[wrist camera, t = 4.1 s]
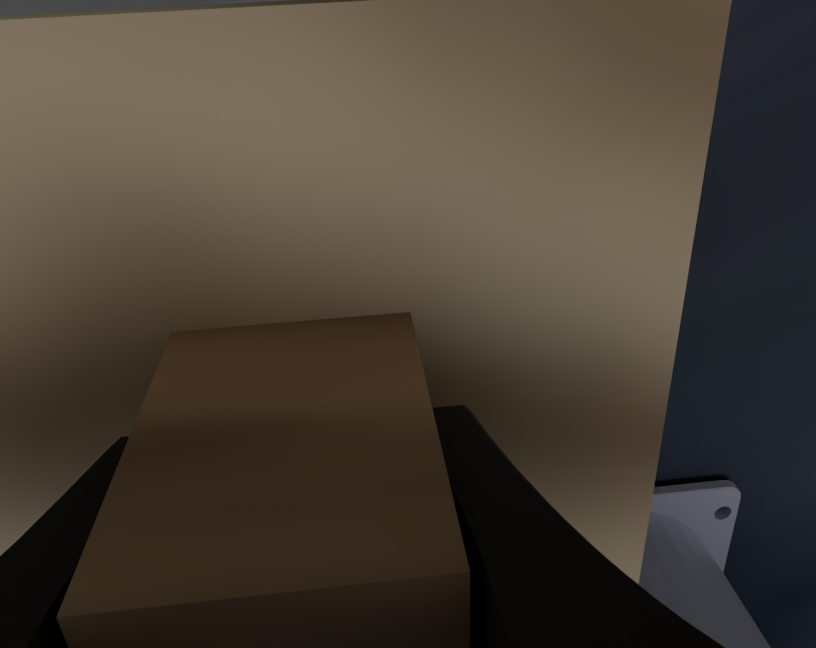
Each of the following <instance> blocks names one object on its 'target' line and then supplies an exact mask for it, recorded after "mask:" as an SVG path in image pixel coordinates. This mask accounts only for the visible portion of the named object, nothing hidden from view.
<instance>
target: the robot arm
mask: <svg viewBox="0 0 816 648" xmlns="http://www.w3.org/2000/svg"><path fill="white" fill-rule="evenodd" d="M432 409H433V413H434V417H435V422H436V426H437V430H438V435H439V439H440V443H441V448H442V452H443V456H444V461H445V465H446V469H447V474H448V478H449V482H450V487H451V491H452V496H453V500H454V504H455V509H456V513H457V517H458V522H459V526H460V530H461V535H462V539H463V543H464V548H465V552H466V556H467V561H468V565H469V569H470V648H771V647H770V646H769V644H768V643H767V641H766V640H765V638H764V636H763V635H762V633H761V632H760V630H759V629H758V627H757V625H756V624H755V622H754V621H753V619H752V618H751V616H750V614H749V613H748V611H747V610H746V608H745V607H744V605H743V604H742V602H741V600H740V599H739V597H738V596H737V594H736V593H735V591H734V589H733V588H732V586H731V585H730V583H729V582H728V580H727V578H726V577H725V575H724V574H723V571H724V567H725V563H726V559H727V554H728V550H729V546H730V541H731V537H732V533H733V529H734V524H735V520H736V516H737V512H738V507H739V503H740V499H741V493H740V491H739V490H738V488H737V487H736V486H735V484H734V483H733V482H731V481H729V480H718V481H708V482H699V483H689V484H680V485H671V486H661V487H654V491H653V497H652V503H651V509H650V516H649V522H648V528H647V535H646V541H645V547H644V553H643V560H642V566H641V572H640V578H639V584H637V583H636V582H635V581H634V580H632V579H631V578H630V577H629V576H627V575H626V574H625V573H624V572H623V571H621V570H620V569H619V568H618V567H617V566H616V565H614V564H613V563H612V562H611V561H610V560H609V559H607V558H606V557H605V556H604V555H603V554H602V553H601V552H600V551H598V550H597V549H596V548H595V547H594V546H593V545H592V544H591V543H590V542H589V541H588V540H586V539H585V538H584V537H583V536H582V535H581V534H580V533H579V532H578V531H577V530H576V529H575V528H574V527H573V526H572V525H571V524H570V523H569V522H567V521H566V520H565V519H564V518H563V517H562V516H561V515H560V514H559V513H558V512H557V511H556V510H555V509H554V508H553V507H552V506H551V505H550V504H549V503H548V501H547V500H546V499H545V498H544V497H543V496H542V495H541V494H540V493H539V492H538V491H537V490H536V489H535V488H534V486H533V485H532V484H531V483H530V482H529V481H528V480H527V479H526V478H525V477H524V476H523V475H522V474H521V472H520V471H519V470H518V469H517V468H516V467H515V466H514V464H513V463H512V462H511V461H510V460H509V459H508V457H507V456H506V455H505V454H504V453H503V452H502V450H501V449H500V448H499V447H498V446H497V444H496V443H495V442H494V441H493V439H492V438H491V437H490V436H489V434H488V433H487V432H486V430H485V429H484V428H483V427H482V425H481V424H480V423H479V421H478V420H477V419H476V417H475V416H474V414H473V413H472V412H471V411H470V410H469V409H468V408H467V407H466V406H465V405H455V406H444V407H434V408H432ZM128 438H129V436H125V437H120V438H119V439H118V440H117V441H116V442H115V443H114V444H113V445H112V446H111V447H110V448H109V449H108V450H107V451H106V452H105V453H104V454H103V455H102V456H101V457H100V458H99V459H98V460H97V461H96V462H95V463H94V464H93V465H92V466H91V467H90V468H89V469H88V470H87V471H86V472H85V473H84V474H83V475H82V476H81V477H80V478H79V479H78V480H77V481H76V482H75V483H74V484H73V485H72V486H71V487H70V488H69V489H68V490H67V491H66V492H65V493H64V495H63V496H62V497H61V498H60V499H59V500H57V501H56V502H55V503H54V504H53V505H52V506H51V507H50V508H49V509H48V510H47V511H46V512H45V513H44V514H43V515H42V516H41V517H40V518H39V519H38V520H37V521H36V522H35V523H34V524H33V525H32V526H31V527H30V528H29V529H28V530H27V531H26V532H25V533H24V534H23V535H22V536H21V537H20V538H19V539H18V540H17V541H16V542H15V543H14V544H13V545H12V546H11V547H10V548H8V549H7V550H6V551H5V552H4V553H3V554H2V555H1V556H0V648H68V645H67V643H66V640H65V638H64V635H63V633H62V631H61V628H60V626H59V623H58V621H57V618H56V617H57V615H58V612H59V610H60V607H61V605H62V602H63V600H64V597H65V595H66V592H67V590H68V587H69V585H70V582H71V580H72V577H73V575H74V572H75V570H76V567H77V565H78V562H79V560H80V557H81V555H82V553H83V550H84V548H85V545H86V543H87V540H88V538H89V535H90V533H91V530H92V528H93V525H94V523H95V520H96V518H97V515H98V513H99V510H100V508H101V505H102V503H103V500H104V498H105V495H106V493H107V491H108V488H109V486H110V483H111V481H112V478H113V476H114V473H115V471H116V468H117V466H118V463H119V461H120V458H121V456H122V453H123V451H124V448H125V446H126V443H127V441H128ZM721 507H722V508H721ZM719 508H721V509H719ZM718 509H719V510H718Z"/></svg>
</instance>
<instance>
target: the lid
mask: <svg viewBox="0 0 816 648" xmlns="http://www.w3.org/2000/svg"><path fill="white" fill-rule="evenodd" d="M731 1H732V0H290V1H271V2H252V3H233V4H214V5H195V6H176V7H157V8H138V9H119V10H100V11H81V12H62V13H43V14H23V15H4V16H0V556H1V555H2V554H3V553H4V552H5V551H6V550H7V549H8V548H10V547H11V546H12V545H13V544H14V543H15V542H16V541H17V540H18V539H19V538H20V537H21V536H22V535H23V534H24V533H25V532H26V531H27V530H28V529H29V528H30V527H31V526H32V525H33V524H34V523H35V522H36V521H37V520H38V519H39V518H40V517H41V516H42V515H43V514H44V513H45V512H46V511H47V510H48V509H49V508H50V507H51V506H52V505H53V504H54V503H55V502H56V501H57V500H59V499H60V498H61V497H62V496H63V495H64V493H65V492H66V491H67V490H68V489H69V488H70V487H71V486H72V485H73V484H74V483H75V482H76V481H77V480H78V479H79V478H80V477H81V476H82V475H83V474H84V473H85V472H86V471H87V470H88V469H89V468H90V467H91V466H92V465H93V464H94V463H95V462H96V461H97V460H98V459H99V458H100V457H101V456H102V455H103V454H104V453H105V452H106V451H107V450H108V449H109V448H110V447H111V446H112V445H113V444H114V443H115V442H116V441H117V440H118V439H119V438H120V437H125V436H129V438H128V441H127V443H126V446H125V448H124V451H123V453H122V456H121V458H120V461H119V463H118V466H117V468H116V471H115V473H114V476H113V478H112V481H111V483H110V486H109V488H108V491H107V493H106V495H105V498H104V500H103V503H102V505H101V508H100V510H99V513H98V515H97V518H96V520H95V523H94V525H93V528H92V530H91V533H90V535H89V538H88V540H87V543H86V545H85V548H84V550H83V553H82V555H81V557H80V560H79V562H78V565H77V567H76V570H75V572H74V575H73V577H72V580H71V582H70V585H69V587H68V590H67V592H66V595H65V597H64V600H63V602H62V605H61V607H60V610H59V612H58V615H57V617H56V618H57V621H58V623H59V626H60V628H61V631H62V633H63V635H64V638H65V640H66V643H67V645H68V648H470V569H469V565H468V561H467V556H466V552H465V548H464V543H463V539H462V535H461V530H460V526H459V522H458V517H457V513H456V509H455V504H454V500H453V496H452V491H451V487H450V482H449V478H448V474H447V469H446V465H445V461H444V456H443V452H442V448H441V443H440V439H439V435H438V430H437V426H436V422H435V417H434V413H433V409H432V408H434V407H444V406H455V405H465V406H466V407H467V408H468V409H469V410H470V411H471V412H472V413H473V414H474V416H475V417H476V419H477V420H478V421H479V423H480V424H481V425H482V427H483V428H484V429H485V430H486V432H487V433H488V434H489V436H490V437H491V438H492V439H493V441H494V442H495V443H496V444H497V446H498V447H499V448H500V449H501V450H502V452H503V453H504V454H505V455H506V456H507V457H508V459H509V460H510V461H511V462H512V463H513V464H514V466H515V467H516V468H517V469H518V470H519V471H520V472H521V474H522V475H523V476H524V477H525V478H526V479H527V480H528V481H529V482H530V483H531V484H532V485H533V486H534V488H535V489H536V490H537V491H538V492H539V493H540V494H541V495H542V496H543V497H544V498H545V499H546V500H547V501H548V503H549V504H550V505H551V506H552V507H553V508H554V509H555V510H556V511H557V512H558V513H559V514H560V515H561V516H562V517H563V518H564V519H565V520H566V521H567V522H569V523H570V524H571V525H572V526H573V527H574V528H575V529H576V530H577V531H578V532H579V533H580V534H581V535H582V536H583V537H584V538H585V539H586V540H588V541H589V542H590V543H591V544H592V545H593V546H594V547H595V548H596V549H597V550H598V551H600V552H601V553H602V554H603V555H604V556H605V557H606V558H607V559H609V560H610V561H611V562H612V563H613V564H614V565H616V566H617V567H618V568H619V569H620V570H621V571H623V572H624V573H625V574H626V575H627V576H629V577H630V578H631V579H632V580H634V581H635V582H636V583H637V584H639V578H640V572H641V566H642V560H643V553H644V547H645V541H646V535H647V528H648V522H649V516H650V509H651V503H652V497H653V491H654V484H655V478H656V472H657V466H658V459H659V453H660V447H661V440H662V434H663V428H664V422H665V415H666V409H667V403H668V397H669V390H670V384H671V378H672V371H673V365H674V359H675V353H676V346H677V340H678V334H679V328H680V321H681V315H682V309H683V302H684V296H685V290H686V284H687V277H688V271H689V265H690V258H691V252H692V246H693V240H694V233H695V227H696V221H697V215H698V208H699V202H700V196H701V189H702V183H703V177H704V171H705V164H706V158H707V152H708V146H709V139H710V133H711V127H712V120H713V114H714V108H715V102H716V95H717V89H718V83H719V77H720V70H721V64H722V58H723V51H724V45H725V39H726V33H727V26H728V20H729V14H730V8H731Z"/></svg>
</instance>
